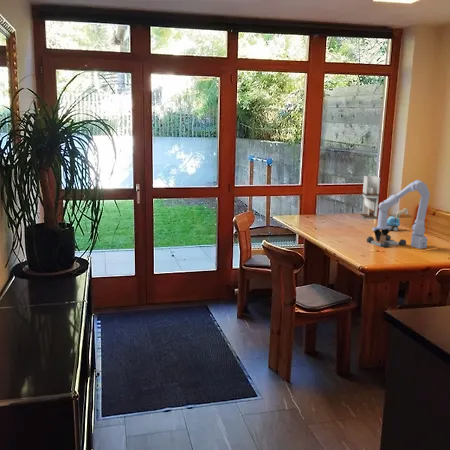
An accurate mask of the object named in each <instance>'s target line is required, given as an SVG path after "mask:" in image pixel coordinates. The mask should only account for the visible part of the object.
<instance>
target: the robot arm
mask: <svg viewBox="0 0 450 450" xmlns="http://www.w3.org/2000/svg"><path fill="white" fill-rule="evenodd" d="M416 191H417V192H418V194H419V195H420V198H419V204H418V209H417V214H416V219H415V220H414V223H413V225H412V226H411V230H412V232H411V239H410V247H413V248H417V249H418V251H420V250H423V249H428V247H427V246H428V237H427V236H426V235H425V232H426V229H425V221H426V215H427V210H428V206H429V200H430V196H431V193H430V190H429V188H428V185H427V184H426V183H425V182H423V181H422V180H420V179H415V180H413V181H412V182H410V183H409V184H408V185H407V186H405V187H404V188H402V189H401V190H400V191H399V192H398V193H396V194H391V195H389V196H388V198H387V199H385V200H384V199H383V201H381V202H380V203H378V213H377V225H376V226H373V227H372V229H371V230H372V231H373V233H374V237H375V236H376V241H379V240H380V235H381V233H383V235H386V236H387V235H389V233H390V231H391V230H388V229H391V226H387V220H388V217H389V216H388V215H389V214H388V212H389V210H390V208H391V207H393V206H394V205H397V204H398V203H399V201H400V199H401V198H402V197H404V196H406V195H407V194H409V193H410V192H416Z"/></svg>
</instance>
